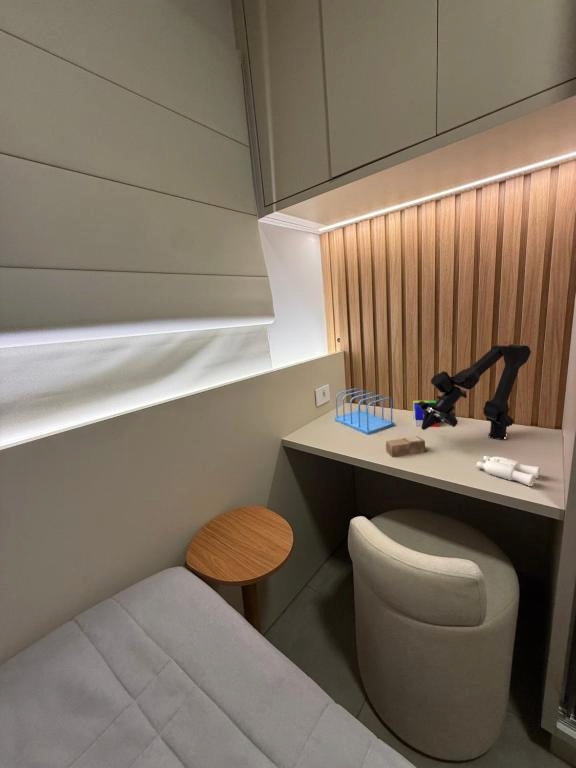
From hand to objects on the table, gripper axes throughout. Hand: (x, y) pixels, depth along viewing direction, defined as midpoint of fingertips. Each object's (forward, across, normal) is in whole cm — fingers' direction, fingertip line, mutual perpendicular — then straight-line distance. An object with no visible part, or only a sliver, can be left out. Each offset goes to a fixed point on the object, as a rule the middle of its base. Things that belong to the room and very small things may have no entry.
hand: (422, 429), depth 129 cm
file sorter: (+13, +35, +1) cm, 38 cm away
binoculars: (-4, -26, -17) cm, 31 cm away
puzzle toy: (-6, +24, -19) cm, 31 cm away
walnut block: (+5, 0, -4) cm, 6 cm away
